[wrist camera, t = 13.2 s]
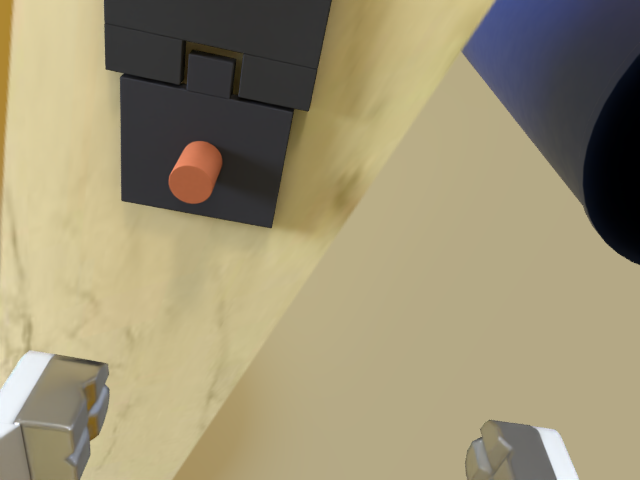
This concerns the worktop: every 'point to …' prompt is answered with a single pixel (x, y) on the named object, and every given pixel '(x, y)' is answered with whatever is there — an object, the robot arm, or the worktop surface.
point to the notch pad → (222, 41)
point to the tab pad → (203, 120)
